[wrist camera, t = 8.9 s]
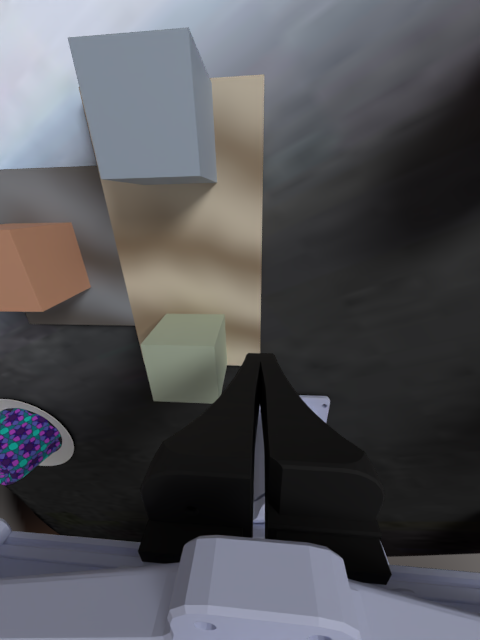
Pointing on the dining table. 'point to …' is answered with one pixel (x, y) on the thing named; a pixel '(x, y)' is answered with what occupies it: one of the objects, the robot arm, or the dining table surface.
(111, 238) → the board
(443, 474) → the dining table surface
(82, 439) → the dining table surface
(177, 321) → the sage block
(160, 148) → the blue block
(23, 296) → the terracotta block
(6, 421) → the patterned fedora hat
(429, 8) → the dining table surface
